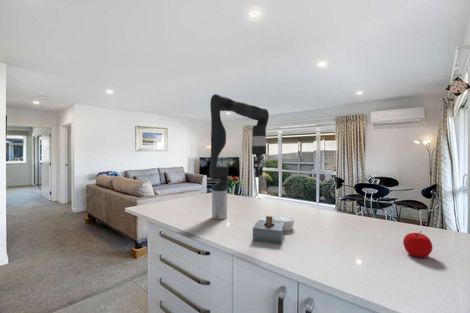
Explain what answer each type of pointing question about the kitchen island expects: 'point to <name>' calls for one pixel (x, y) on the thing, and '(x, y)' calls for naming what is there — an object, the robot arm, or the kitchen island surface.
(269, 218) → the walnut peg
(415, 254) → the fruit
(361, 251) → the kitchen island surface
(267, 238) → the hole block
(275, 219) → the ramekin
